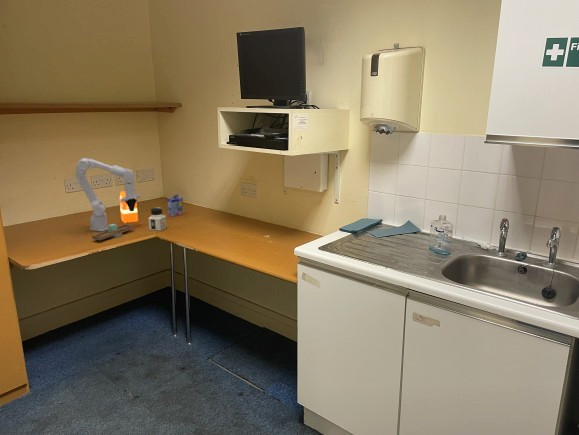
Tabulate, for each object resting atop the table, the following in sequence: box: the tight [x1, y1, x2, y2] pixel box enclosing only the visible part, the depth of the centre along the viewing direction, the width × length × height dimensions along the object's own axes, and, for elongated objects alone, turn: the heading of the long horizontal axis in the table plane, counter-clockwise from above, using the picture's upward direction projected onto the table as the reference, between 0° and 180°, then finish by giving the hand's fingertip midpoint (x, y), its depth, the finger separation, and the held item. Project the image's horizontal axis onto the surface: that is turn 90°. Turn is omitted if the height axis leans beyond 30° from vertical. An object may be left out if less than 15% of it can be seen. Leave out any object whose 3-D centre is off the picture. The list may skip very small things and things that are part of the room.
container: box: [148, 207, 167, 231], centre depth 275 cm, size 8×8×13 cm
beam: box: [91, 223, 135, 241], centre depth 261 cm, size 8×26×4 cm, turn 156°
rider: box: [107, 223, 118, 232], centre depth 260 cm, size 3×4×4 cm
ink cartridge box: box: [166, 194, 184, 218], centre depth 307 cm, size 10×6×14 cm, turn 145°
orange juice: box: [119, 190, 139, 224], centre depth 292 cm, size 8×9×20 cm
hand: (131, 211), depth 277 cm, fingers closed
